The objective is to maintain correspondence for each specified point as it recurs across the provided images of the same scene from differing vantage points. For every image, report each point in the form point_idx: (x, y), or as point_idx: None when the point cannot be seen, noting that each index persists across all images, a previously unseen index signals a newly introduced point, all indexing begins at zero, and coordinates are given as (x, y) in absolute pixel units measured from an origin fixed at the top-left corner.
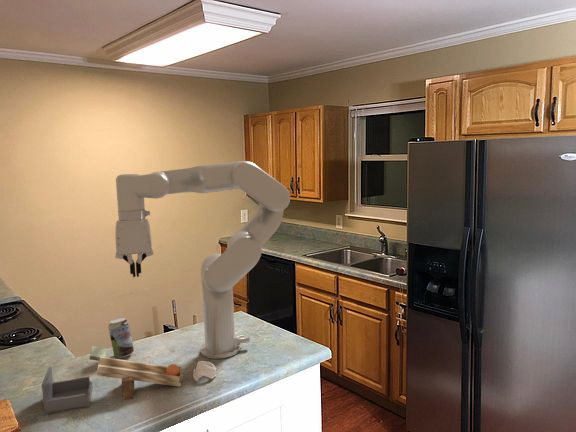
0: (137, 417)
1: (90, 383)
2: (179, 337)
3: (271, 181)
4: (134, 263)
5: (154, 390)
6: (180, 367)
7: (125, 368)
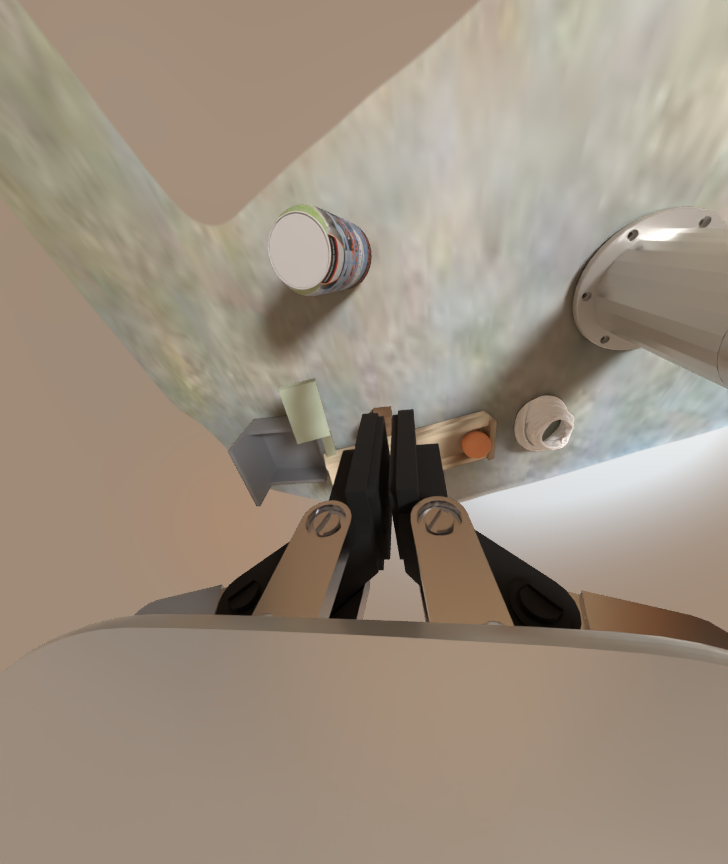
0: None
1: None
2: (542, 86)
3: None
4: (380, 529)
5: None
6: (495, 424)
7: None
